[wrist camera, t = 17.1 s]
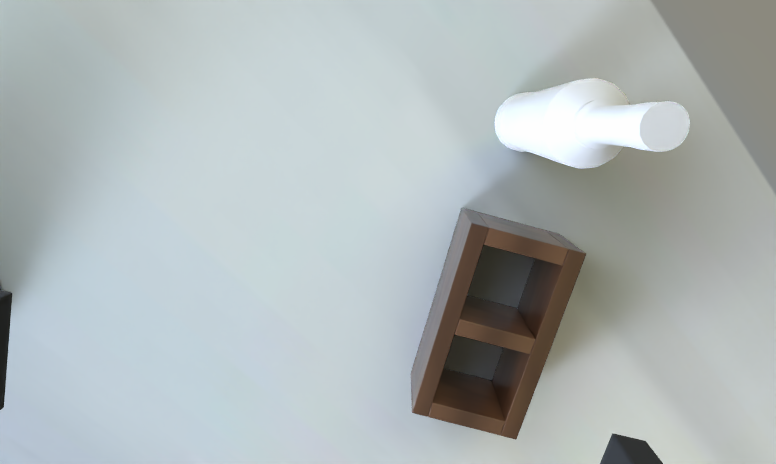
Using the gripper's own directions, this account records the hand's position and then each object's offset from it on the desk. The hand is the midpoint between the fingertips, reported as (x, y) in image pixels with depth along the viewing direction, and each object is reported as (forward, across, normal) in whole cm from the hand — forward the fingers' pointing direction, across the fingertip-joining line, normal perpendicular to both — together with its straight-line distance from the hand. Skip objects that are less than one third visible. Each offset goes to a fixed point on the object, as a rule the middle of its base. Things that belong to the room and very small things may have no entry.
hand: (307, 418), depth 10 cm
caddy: (+36, +13, -9) cm, 40 cm away
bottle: (+36, +12, +9) cm, 39 cm away
